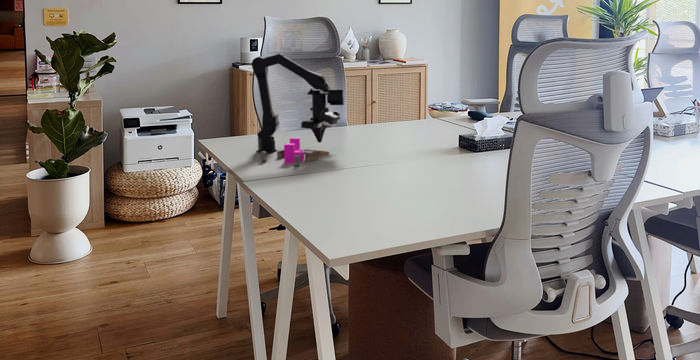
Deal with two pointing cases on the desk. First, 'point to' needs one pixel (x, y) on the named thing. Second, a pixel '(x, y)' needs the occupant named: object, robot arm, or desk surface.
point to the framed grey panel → (309, 156)
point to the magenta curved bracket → (293, 150)
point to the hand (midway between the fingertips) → (319, 142)
